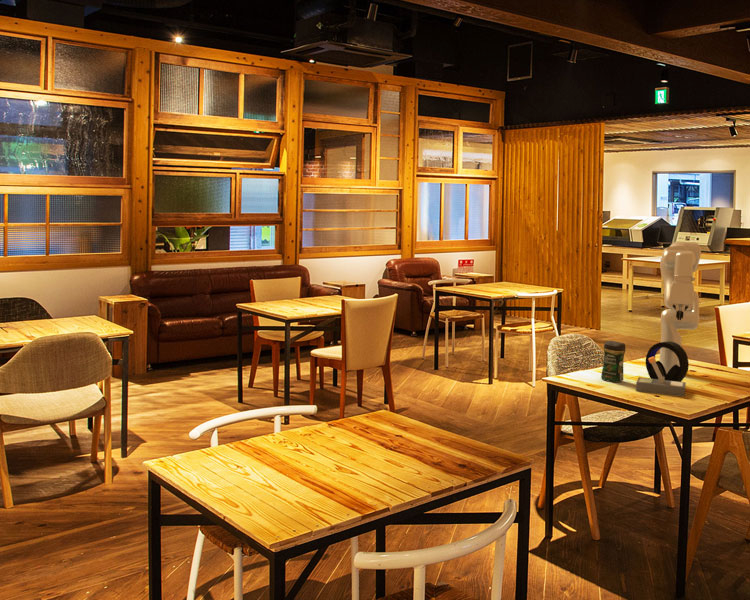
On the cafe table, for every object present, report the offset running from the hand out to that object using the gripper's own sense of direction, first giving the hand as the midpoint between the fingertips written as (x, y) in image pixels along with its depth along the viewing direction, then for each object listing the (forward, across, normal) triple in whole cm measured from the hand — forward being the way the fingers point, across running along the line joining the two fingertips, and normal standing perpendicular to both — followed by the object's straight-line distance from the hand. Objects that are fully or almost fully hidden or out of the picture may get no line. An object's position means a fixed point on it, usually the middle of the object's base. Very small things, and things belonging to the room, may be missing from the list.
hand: (679, 319), depth 351 cm
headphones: (+31, +4, 0) cm, 31 cm away
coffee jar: (+31, +27, +4) cm, 41 cm away
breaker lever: (+25, +5, +14) cm, 29 cm away
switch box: (+31, +5, +14) cm, 34 cm away
